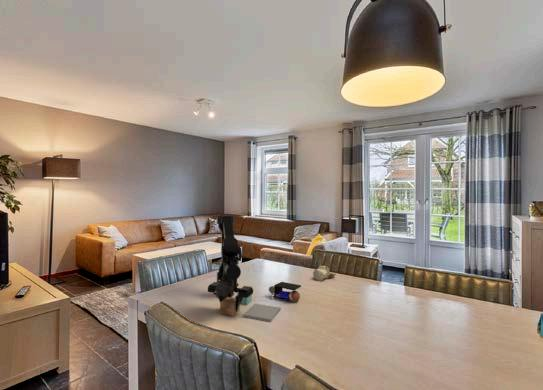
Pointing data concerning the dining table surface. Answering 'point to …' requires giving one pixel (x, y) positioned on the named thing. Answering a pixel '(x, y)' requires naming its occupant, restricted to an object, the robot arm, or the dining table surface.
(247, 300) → the teal block
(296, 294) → the figurine character
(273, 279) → the dining table surface
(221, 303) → the walnut block
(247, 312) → the base plate
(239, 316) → the dining table surface
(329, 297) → the dining table surface
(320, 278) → the ceramic sculpture
